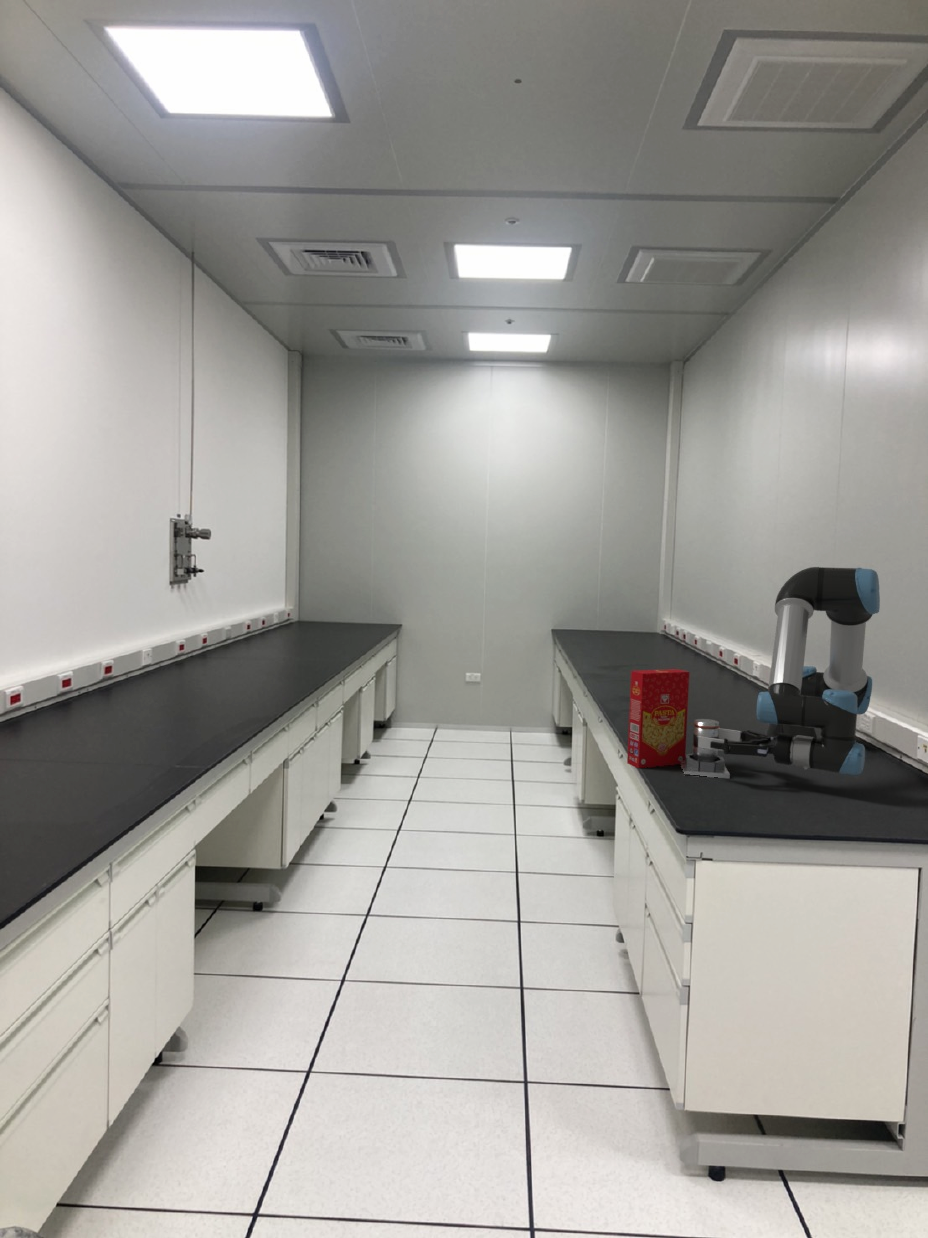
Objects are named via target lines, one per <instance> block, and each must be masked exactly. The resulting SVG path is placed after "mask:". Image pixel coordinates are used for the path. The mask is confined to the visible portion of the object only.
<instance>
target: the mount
mask: <svg viewBox="0 0 928 1238" xmlns="http://www.w3.org/2000/svg"><path fill="white" fill-rule="evenodd" d="M680 765H681V766H680ZM680 765H679V766H680V767H681V770H682V769H683V770H682V772H684V773H683V775H684V774H690V775H700V776H707V777H706V778H714V777H718V778H719V779H730V777H731V774H730V772H729V771H728V768H727V767H726V760H725V759H724V757H723V756H721V755H720V756H719V755H717V761H715V762H708V761H699V760H695V759H693V752H692V753H686V754H685V761H683V760H680ZM718 778H717V779H718Z"/></svg>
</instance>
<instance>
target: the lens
mask: <svg viewBox="0 0 928 1238" xmlns="http://www.w3.org/2000/svg"><path fill="white" fill-rule="evenodd" d="M693 726H694V727H693V729H694V730H693V734H692V735H693V738H692V746H693V747H692V749H693V751H692V753H693V759H695V760H699V761H708V762H715V761H717V756H718V750H712V749H706V748H699V747H698V738H699V736H701V737H708V738H715V739H719V735H718V730H719V728H720V722H719V721H718V720H715V719H709V718H708V719H707V718H697V719H694V722H693Z"/></svg>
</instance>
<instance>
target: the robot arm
mask: <svg viewBox="0 0 928 1238" xmlns="http://www.w3.org/2000/svg"><path fill="white" fill-rule="evenodd" d="M880 597H881V596H880V580H879V574H878V573H877V571H876V570H874V569H872V568H862V567H856V568H854V567H821V566H812V567H808V568H804V569H802V570H800V571H798V572H796V573H795V574H793V575H791V577H790V578H788V579H787V580H786V581H785V582H784V584H783V586H782V587H781V588H780V590H779V591H778V593H777V596H776V598H775V604H774V613H775V614H776V615H777V618H776V625H775V633H774V634H775V636H774V641H773V648H772V649H773V650H772V657H771V666H770V673H769V681H768V689H767V691H761V692H759V693H758V696H757V700H756V701H757V702H756V719H757V720H758V721H759V722H762V723H766V724H768V725H767V728H766V729H765V733H760V732H756V731H754V730H751V729H748V730H743V731H742V730H735V729H728V728H720V727H719V730H718V735H719V739H715V738H708V737H701V736H699V738H698V747H699V748H706V749H712V750H717V752H718V751H719V752H723V754H724V755H735V756H736V755H737V756H752V757H753V756H755V757H762V758H767V757H768V755H773V757H774V761H775V763H776V764H781V765H786V766H791V765H793V766H794V767H795V766H796V767H803V770H805V771H806V770H808V769H813V770H818V771H819V770H820V771H827V772H830V773H831V772H832V773H835V774H840V775H841V774H844V775H852V776H857V775H860V774H862V772H863V771H864V767H865V762H866V761H865V760H866V747H865V746H864V744H863V743H859V742H857V739H856V733H857V719H858V715H864V714H866V713H867V711H868V709H869V706H870V703H871V696H872V692H873V691H872V690H873V678H872V677H871V676H869V675H868V674H867V673H866V671H865V670H864V668H863V664H864V663H863V662H864V653H865V652H864V649H865V640H866V639H865V638H866V636H865V635H866V626H867V625H866V624H867V622H869V621H870V620H871V619H872V617H873V615H874V614H878V613H879V612H880V606H881V605H880V604H881V602H880V601H881V598H880ZM814 611H816V612H825V615H826V616H827V618H828V619H829V620H830V621H831V622H830V643H829V666H827V668H825V670H824V672H823V671H822V672H821V671H819V672H818V669H817V668H816V666H811V665H810V666H808V665H805V655H806V647H807V637H808V628H809V619H811V618H812V616H813V615H814ZM817 729H819V730H820V737H819V736H818V732H817V731H818V730H817Z"/></svg>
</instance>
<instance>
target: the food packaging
mask: <svg viewBox="0 0 928 1238" xmlns="http://www.w3.org/2000/svg"><path fill="white" fill-rule="evenodd" d="M689 686H690V671H688V670H683V669H682V670H681V669H677V668H674V669H672V668H671V669H648V670H647V669H644V670H642V669H641V670H630V689H629V690H630V692H629V693H630V697H629V713H628V714H629V715H628V716H629V717H628V736H627V737H628V739H627V740H628V741H627V762H626V764H628V765H630V766H632V767H635V768H637V769H645V768H646V769H647V767H648V768H655V767H656V766H659V767H668V766H667V765H671V766H675V765H674V764H680V760H683V761H685V755H686V749H687V747H686V746H687V730H688V728H687V726H688V708H689V688H690V687H689ZM664 765H666V766H664ZM656 768H657V767H656Z"/></svg>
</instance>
